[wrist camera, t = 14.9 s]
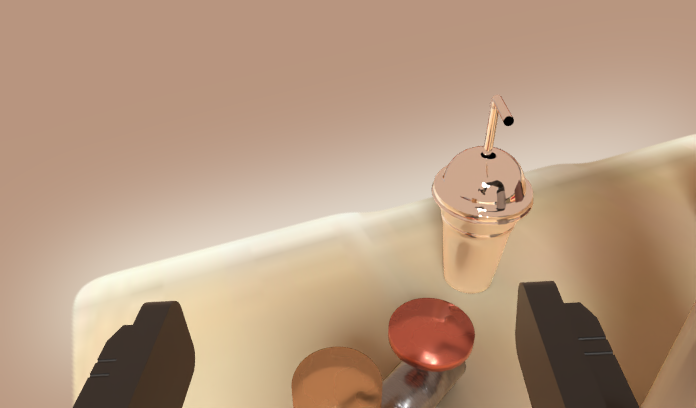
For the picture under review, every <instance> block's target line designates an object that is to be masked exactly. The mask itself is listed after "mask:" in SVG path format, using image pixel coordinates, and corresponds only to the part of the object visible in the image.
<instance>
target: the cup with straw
mask: <svg viewBox="0 0 696 408" xmlns="http://www.w3.org/2000/svg"><path fill="white" fill-rule="evenodd" d="M498 114H500V116H501V118H502V120H503V122H504V124H505V125H506V126H510V125H512V124H513V122H514V119H513V117H512V115H511V114H510V112H509V110H508V108H507V106H506V104H505V103H504V101H503V99H502V97H501V96H500V95H495V96H494V97H493V98H492V100H491V107H490V113H489V119H488V126H487V132H486V138H485V144H484V146H477V147H472V148H469V149H466V150H464V151H463V152H461V153H459V154H457V155H456V156H455V157H454V158H453V159H452V160H451V162H450V163H449V164H448V165H447V166H446V167H444V168H443V169H441V171H439V172H438V174H437V175H436V177H435V180H434V182H433V185H432V195H433V198H434V200H435V202H436V203H437V204H438V206H439V207H440V210H441V217H442V220H443V265H444V279H445V281H446V282H447V284H448V285H449V286H451V287H452V288H453V289H455V290H457V291H460V292H463V293H471V294H473V293H479V292H483V291H485V290H486V289H487V288H489V286H490V285H491V283H492V278H493V277H494V275H495V272H496V269H497V267H498V264H499V261H500V259H501V256H502V253H503V251H504V248H505V245H506V243H507V240H508V237H509V235H510V232H511V231H512V230H513V229H514V226H515V224H516V223H517V221H518V220H520V219H522V218H523V217H524V216H526V215H527V214H528V213H529V211H530V210H531V209H532V206H533V189H532V186H531V184H530V183H529V181H528V180H527V179H526V178H525V176H524V173H523V171H522V168H521V166H520V165H519V163H518V162H517V161H516V160H515V158H513V157H512V156H511V155H510V154H508V153H507V152H505V151H503V150H501V149H498V148H495V147H493V143H494V137H495V132H496V125H497V120H498Z"/></svg>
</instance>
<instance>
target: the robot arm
mask: <svg viewBox="0 0 696 408" xmlns="http://www.w3.org/2000/svg"><path fill="white" fill-rule="evenodd" d="M515 338H516V349H517V355H518V359H519V363H520V366H521V370H522V373H523V377H524V380H525V384H526V387H527V391H528V394H529V398H530V401H531V405H532V408H639V406H638V404H637V402H636V399H635V397H634V395H633V393H632V391H631V389H630V387H629V385H628V383H627V380H626V378H625V376H624V374H623V372H622V370H621V368H620V366H619V363H618V361H617V359H616V357H615V355H613V351H612V349H611V346H610V344H609V342H608V340H606V336H605V334H604V332H603V330H602V327H601V325H600V323H599V321H598V319H597V317H595V316H594V315H593V314H592V313H591V312H590V311H589V310H588V309H587V308H586V307H584V306H583V305H582V304H581V303H580V302H578V303H563V300H562V298H561V296H560V293H559V291H558V288H557V286H556V284H555V282H554V281H544V282H526V283H520V284H519V288H518V301H517V316H516V330H515ZM97 360H98V363H95V365H94V367H93V369H92V371H91V373H90V378H88V379H87V381H86V383H85V385H84V387H83V389H82V391H81V393H80V394H79V396H78V398H77V400H76V402H75V404H74V406H73V408H182V406H183V403H184V400H185V397H186V394H187V391H188V388H189V385H190V382H191V379H192V375H193V372H194V366H195V351H194V346H193V343H192V340H191V336H190V333H189V330H188V327H187V324H186V321H185V318H184V315H183V312H182V308H181V306H180V304H179V303H178V302H177V301H165V302H147V303H144V304H143V306H142V307H141V309H140V311H139V313H138V315H137V317H136V319H135V322H134V324H133V325H123V326H122V327H121V328H120V329H119V330H118V331H117V332H116V333H115V334H114V335H113V336H112V337H111V338H110V339H109V340H108V341H107V342H106V344H105V346H104V348H103V350H102V352H101V354H100V356H99V358H98V359H97ZM640 408H696V301H695V303H694V305H693V307H692V309H691V311H690V313H689V315H688V316H687V318H686V320H685V322H684V324H683V326H682V328H681V330H680V332H679V334H678V336H677V338H676V340H675V342H674V344H673V346H672V348H671V349H670V351H669V353H668V355H667V357H666V359H665V361H664V363H663V365H662V367H661V369H660V371H659V373H658V375H657V377H656V379H655V381H654V382H653V384H652V386H651V388H650V390H649V392H648V394H647V396H646V397H645V399H644V401H643V403H642V405H641V407H640Z"/></svg>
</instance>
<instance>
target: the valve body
mask: <svg viewBox="0 0 696 408" xmlns="http://www.w3.org/2000/svg"><path fill="white" fill-rule="evenodd" d="M388 337H389V343H390V345H391V348H392V349H393V351H394V353H395V354H396V355H397V356H398V357H399V358H400V359H401V360H402V361H401V362H400V364H399V365H398V366H397V367H396V368H395V369H394V370H393V371H392V372H391V373H390V374H389V375H388V376H387V377H386V378H385V379H384V380H383V381H382V402H381V408H435V407H436V406H437V405H438V403H439V402H440V401H441V400H442V399H443V397H444V396H445V395H446V394H447V393H448V391H449V390H450V389H451V388H452V387H453V385H454V384H455V383H456V382H457V380H458V379H459V378H460V377H461V376H462V374H463V373H464V372H465V369H466V364H465V360H466V359H467V358H468V357H469V355H470V353H471V351H472V348H473V343H474V337H475V333H474V327H473V325H472V322H471V321H470V319H469V317H468V316H467V315H466V314H465V313H464V312H463V311H462V310H461V309H460V308H458V307H457V306H455V305H453V304H451V303H449V302H446V301H443V300H440V299H435V298H420V299H414V300H411V301H408V302H406V303H404V304H403V305H401V306H400V307H398V308H397V309H396V310H395V312H394V313H393V314H392V316H391V319H390V322H389V332H388Z"/></svg>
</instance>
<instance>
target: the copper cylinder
mask: <svg viewBox="0 0 696 408" xmlns="http://www.w3.org/2000/svg"><path fill="white" fill-rule="evenodd" d="M292 396H293V406H294V408H381V402H382V377H381V374H380V371H379V369H378V368H377V366H376V365H375V363H374V362H373V361H372V360H371V359H370V358H369V357H368V356H366V355H365V354H363V353H361V352H359V351H357V350H354V349H351V348H346V347H329V348H325V349H321V350H318V351H316V352H314V353H312V354H311V355H309V356H308V357H306V358H305V359H304V360H303V361H302V362H301V363H300V364H299V366H298V367H297V369H296V371H295V373H294V375H293V379H292Z"/></svg>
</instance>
